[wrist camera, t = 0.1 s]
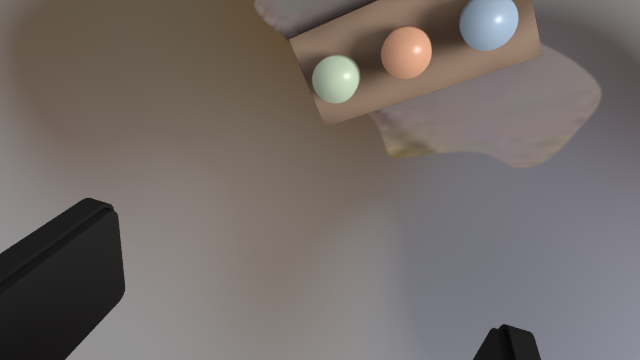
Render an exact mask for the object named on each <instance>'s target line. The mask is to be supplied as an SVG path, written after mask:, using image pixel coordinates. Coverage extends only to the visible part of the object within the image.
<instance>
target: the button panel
mask: <svg viewBox="0 0 640 360" xmlns="http://www.w3.org/2000/svg"><path fill="white" fill-rule="evenodd" d="M469 1H470V0H377V1H374V2H372V3H370V4H368V5H365V6H363V7H361V8H359V9H356V10H354V11H352V12H349V13H347V14H345V15H343V16H340V17H338V18H336V19H333V20H331V21H329V22H327V23H324V24H322V25H320V26H318V27H315V28H313V29H311V30H308V31H306V32H304V33H302V34H299V35H297V36H295V37H293V38H291V39H289V41H290V43H291V46H292V48H293V50H294V53H295V55H296V58H297V60H298V62H299V65H300V67H301V70H302V72H303V74H304V77H305V79H306V82H307V84H308V86H309V89H310V91H311V94H312V96H313V98H314V100H315V103H316V105H317V108H318V110H319V113H320V115H321V118H322V120H323V122H324V125H325V127H327V126H330V125H333V124H336V123H339V122H342V121H345V120H348V119H351V118H354V117H357V116H360V115H363V114H366V113H369V112H373V111H376V110H379V109H382V108H385V107H388V106H391V105H394V104H397V103H400V102H403V101H406V100H409V99H412V98H415V97H418V96H421V95H424V94H427V93H430V92H433V91H436V90H439V89H442V88H445V87H449V86H452V85H455V84H458V83H461V82H464V81H467V80H470V79H473V78H476V77H479V76H482V75H485V74H488V73H491V72H494V71H497V70H500V69H503V68H506V67H509V66H512V65H515V64H518V63H521V62H524V61H528V60H531V59H534V58H537V57H540V56H542V51H541V45H540V40H539V35H538V30H537V24H536V19H535V14H534V9H533V4H532V0H512V2H513V3H514V4H515V6H516V8H517V11H518V25H517V28H516V30H515V32H514V34H513V36H512V37H511V38H510V39H509V40H508V41H507V42H506V43H505V44H504V45H502V46H501V47H499V48H496V49H494V50H489V51H480V50H477V49H474V48H472V47H471V46H469V45H468V44H467V43H466V42H465V40H464V39H463V37H462V35H461V32H460V29H459V19H460V15H461V13H462V10H463V9H464V7H465V6H466V4H467V3H468V2H469ZM405 25H413V26H417V27H419V28H421V29H422V30H424V31H425V32H426V34H427V35H428V37H429V39H430V41H431V48H432V54H431V59H430V62H429V64H428V66H427V68H426V69H425V70H424V71H423V72H422V73H421V74H419V75H418V76H416V77H414V78H410V79H400V78H396V77H394V76H392V75H391V74H390V73H388V72H387V70H386V69H385V68H384V66H383V63H382V60H381V50H382V46H383V44H384V42H385V40H386V38H387V37H388V36H389V34H390V33H391V32H392V31H393V30H395V29H396V28H398V27H401V26H405ZM336 53H341V54H345V55H348V56H349V57H351V58H352V59H353V60H354V61H355V62H356V63H357V65H358V67H359V70H360V83H359V85H358V87H357V89H356V91H355V92H354V94H353V95H352V96H351V97H350V98H349V99H348V100H346V101H344V102H342V103H330V102H327V101H325V100H323V99H322V98H320V97H319V96H318V94H317V93H316V91H315V90H314V87H313V83H312V76H313V72H314V69H315V68H316V66H317V65H318V64H319V63H320V62H321V61H322V60H323V59H324V58H326V57H327V56H329V55H331V54H336Z"/></svg>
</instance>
